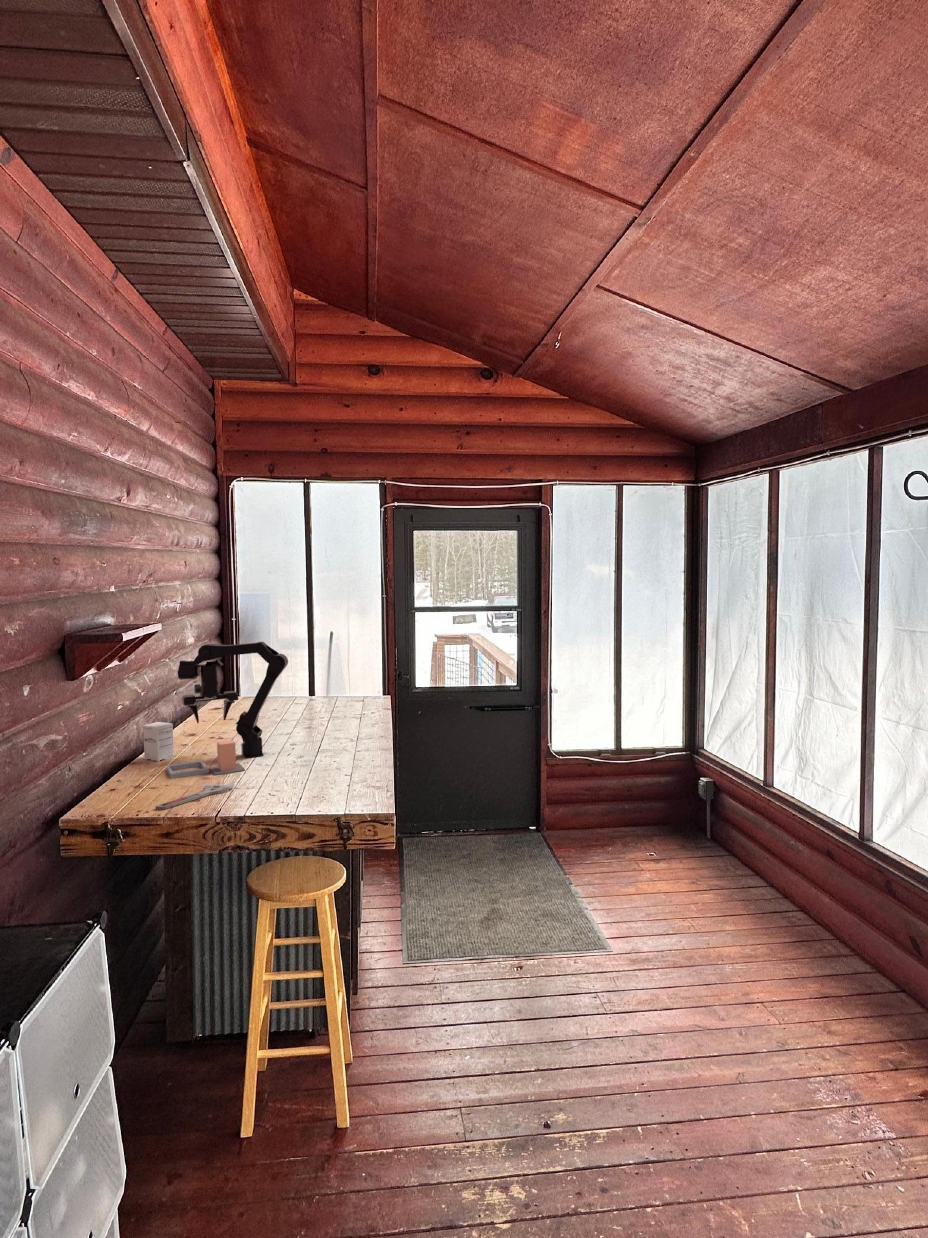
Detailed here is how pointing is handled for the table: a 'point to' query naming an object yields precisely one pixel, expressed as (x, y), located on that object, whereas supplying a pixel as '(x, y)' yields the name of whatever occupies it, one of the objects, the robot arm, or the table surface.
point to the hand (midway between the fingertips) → (211, 721)
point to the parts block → (226, 755)
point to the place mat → (216, 770)
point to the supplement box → (158, 741)
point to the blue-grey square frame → (187, 773)
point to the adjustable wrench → (198, 795)
